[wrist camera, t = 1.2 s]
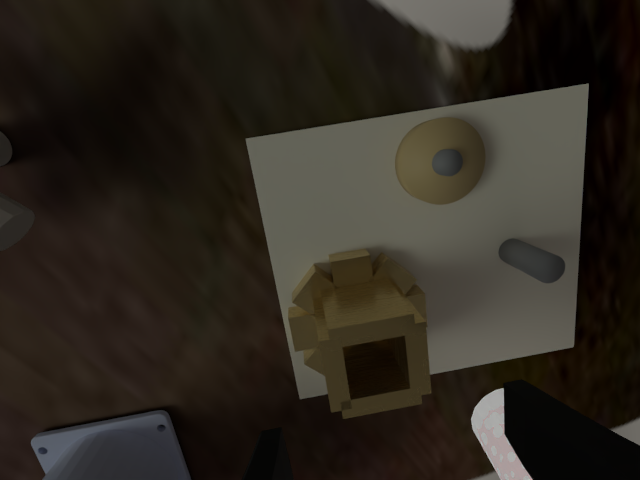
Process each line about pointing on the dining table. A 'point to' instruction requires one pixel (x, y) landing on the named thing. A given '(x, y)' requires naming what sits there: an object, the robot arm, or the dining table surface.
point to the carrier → (441, 217)
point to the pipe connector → (11, 208)
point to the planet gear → (363, 332)
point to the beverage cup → (497, 437)
